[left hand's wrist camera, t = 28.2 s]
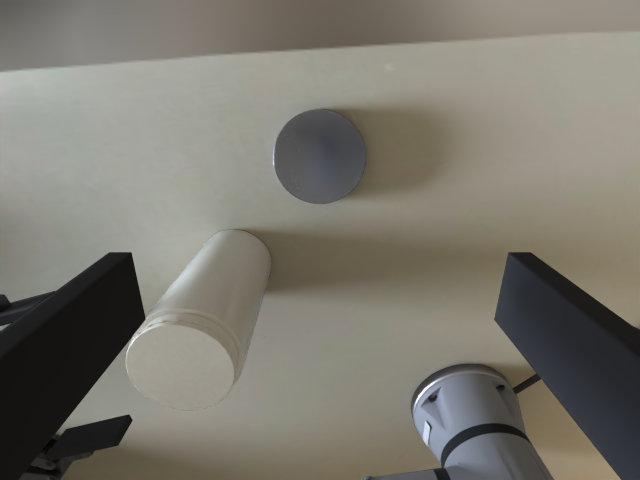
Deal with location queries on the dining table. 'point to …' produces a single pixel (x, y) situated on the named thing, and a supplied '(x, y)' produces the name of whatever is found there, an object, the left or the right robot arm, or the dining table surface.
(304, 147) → the lid
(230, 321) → the jar
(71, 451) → the right robot arm
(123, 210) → the dining table surface
